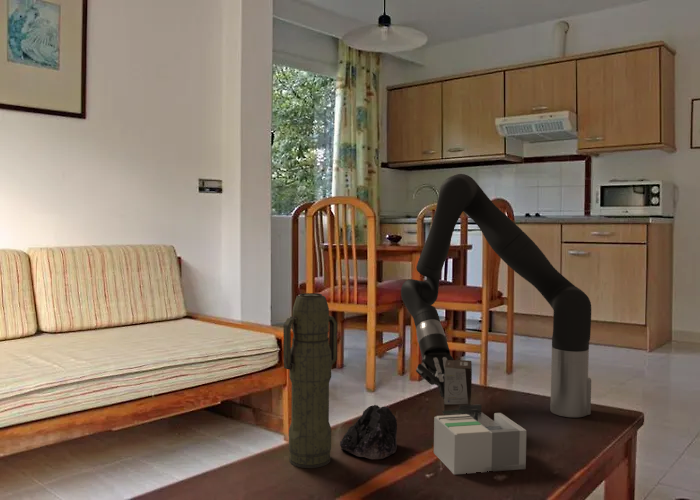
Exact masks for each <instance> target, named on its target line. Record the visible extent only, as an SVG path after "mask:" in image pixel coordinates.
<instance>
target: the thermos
mask: <svg viewBox="0 0 700 500" xmlns="http://www.w3.org/2000/svg"><path fill="white" fill-rule="evenodd" d="M291 329H292V330H291ZM291 331H292V332H291ZM292 333H293V334H292ZM291 335H293V338H292V337H291ZM291 338H292V339H291ZM337 339H338V322H337V320H336V319H335V317H334V316H332V315H330V308H329V304H328V301H327V298H326V296H325V295H323V294H321V293H315V292H313V293H310V292H309V293H306V292H305V293H299V295H296V298H295V301H294V304H293V307H292V316H289V317H288V318H286V320H285V322H284V324H283V349H282V350H283V353H282V354H283V355H282V357H283V368H284V369H286V370H288V371H289V373H288V375H289V380H290V382H291V417H290V419H291V423H290V426H289V428H288V450H289V461H288V462H289V463H290V464H291V465H292V466H294V467H297V468H303V469H315V468H321V467H324V466H326V465H329V463H330V462H331V450H332V427H331V424H330V421H329V419H330V418H329V417H330V414H329V413H330V381H331V379H332V367H333V365H334V364H335V363H336V361H337V360H338V348H337V347H338V340H337ZM291 342H292V343H291Z"/></svg>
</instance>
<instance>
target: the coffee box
mask: <svg viewBox="0 0 700 500" xmlns="http://www.w3.org/2000/svg"><path fill="white" fill-rule="evenodd" d="M472 367H473V365H472V360H463V359H462V360H461V359H460V360H459V359H455V360H446V364H445V383H444V399H443V411H448V410H459V405H472V390H473V389H472V381H473V378H472V376H473V375H472V374H473V372H472V371H473V370H472V369H473V368H472ZM445 415H459V413H451V414H443V416H445Z"/></svg>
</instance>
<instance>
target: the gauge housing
mask: <svg viewBox="0 0 700 500" xmlns="http://www.w3.org/2000/svg"><path fill="white" fill-rule="evenodd" d="M433 418H434V419H433V421H434V422H433V428H434V429H433V454H434V455H435V457H437V458H438V459H439V460H440V461H441V462H442V464H443V465H445V466H446V468H447V469H448V470H449V471H450V472H451V473H452V474H453V475H466V473H467V474H477V473H476V472H481V473H490V472H489V471H493V472H502V471H503V472H504V471H515V470H517V471H518V470H526V467H527V465H526V461H527V430H526V428H523V427H522V426H521V425H520V424H517V423H516V422H515V421H513V420H512V419H510V418H509V417H508V416H506V415H505V414H503V413H502V412H495V413H494V414H493V421H495V422H496V423H497V424H499V425H500V430H488V429H487V428H486V427H484V426H483V425H482V424H480V423H479V422H478V421H476V420H475V419H474V418H473V417H471V416H470V415H468V414H462V415H445V416H444V415H436V416H434V417H433ZM487 471H488V472H487Z"/></svg>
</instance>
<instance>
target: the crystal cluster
mask: <svg viewBox="0 0 700 500" xmlns="http://www.w3.org/2000/svg"><path fill="white" fill-rule="evenodd" d="M397 434H398V421H397V418H396V416H395V415H394V414H393V412H392V411H391V409H390V408H389V407H387V406H381V407H380V406H379V405H378V404H374V405H371V406H368V407H367V408H366V409H364V410H363V412H362V415H361V416H360V417H359V418H358V419H357V421H356V422H355V423H354V424H352V425H351V426H350V427H349V428H348V429H347V431H346V432H345V434H344V435H343V437H342V439H341V441H340V442H339V447H340V448H341V450H343V451H345V452H348V453H349V454H352V455H354V456H355V457H360V458H366V459H368V460H382V459H385V458H388V457H390V456H391V455H393V454H394V453H396V451H397V445H398V444H397V442H398V441H397V436H398V435H397Z"/></svg>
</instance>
